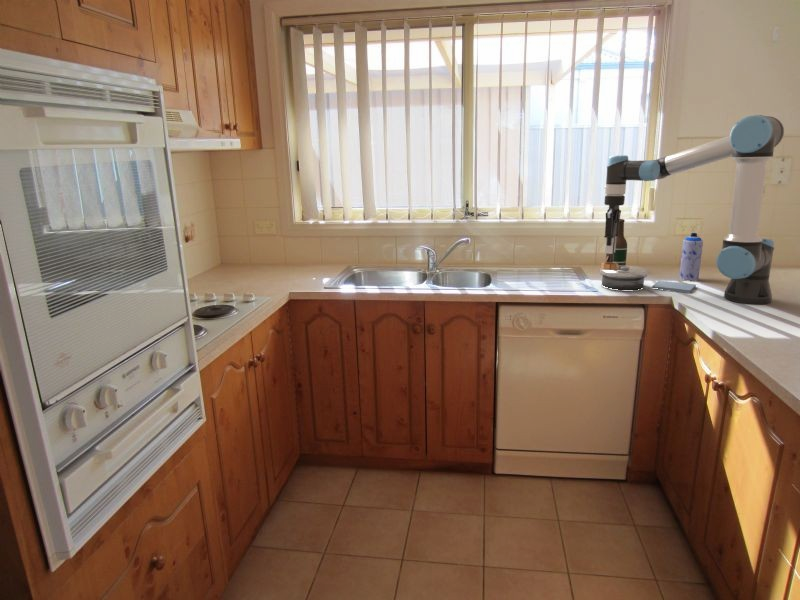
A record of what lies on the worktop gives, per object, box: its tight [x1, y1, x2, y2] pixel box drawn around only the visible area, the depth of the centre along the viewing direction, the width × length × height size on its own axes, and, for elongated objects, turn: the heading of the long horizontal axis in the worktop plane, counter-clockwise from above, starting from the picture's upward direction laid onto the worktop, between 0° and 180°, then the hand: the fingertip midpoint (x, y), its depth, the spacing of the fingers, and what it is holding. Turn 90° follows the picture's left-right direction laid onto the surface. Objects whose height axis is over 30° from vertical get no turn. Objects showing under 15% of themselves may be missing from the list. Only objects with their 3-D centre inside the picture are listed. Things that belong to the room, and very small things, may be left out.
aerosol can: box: [678, 232, 704, 281], centre depth 240 cm, size 8×8×20 cm
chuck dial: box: [599, 261, 649, 279], centre depth 229 cm, size 18×18×4 cm
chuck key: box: [605, 223, 616, 262], centre depth 230 cm, size 3×3×16 cm
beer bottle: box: [613, 218, 628, 266], centre depth 258 cm, size 8×8×24 cm
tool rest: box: [651, 280, 697, 294], centre depth 227 cm, size 14×12×1 cm
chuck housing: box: [601, 275, 645, 290], centre depth 230 cm, size 16×16×5 cm
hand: (610, 252), depth 231 cm, fingers closed on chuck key, 3 cm apart
